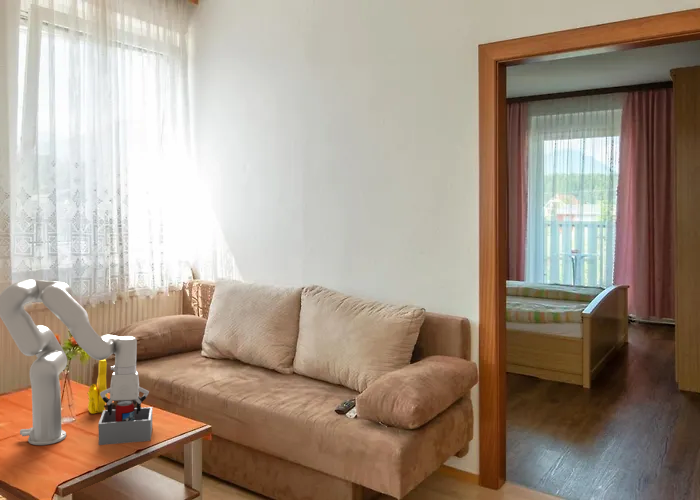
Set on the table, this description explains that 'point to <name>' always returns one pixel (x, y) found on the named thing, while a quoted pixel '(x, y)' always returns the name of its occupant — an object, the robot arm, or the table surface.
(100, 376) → the figure statuette
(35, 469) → the table surface
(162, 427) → the table surface
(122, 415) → the beverage can
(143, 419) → the gray open storage box
